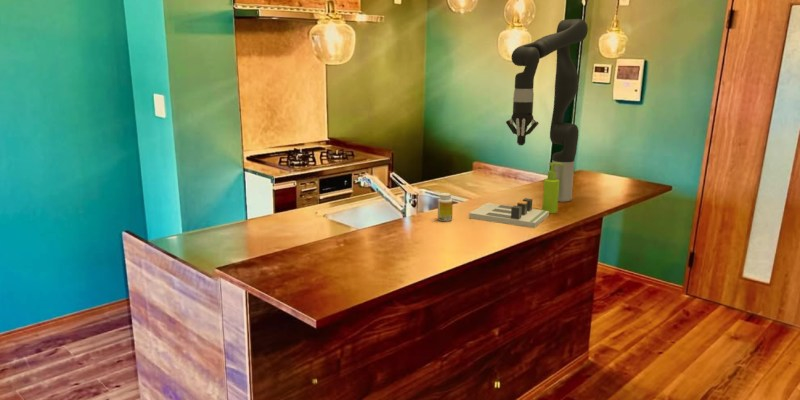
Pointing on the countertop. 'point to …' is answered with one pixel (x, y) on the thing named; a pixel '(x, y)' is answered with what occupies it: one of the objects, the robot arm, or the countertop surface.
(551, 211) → the soap dispenser
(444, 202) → the supplement bottle
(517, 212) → the block
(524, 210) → the breaker mid
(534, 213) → the breaker panel
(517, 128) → the robot arm
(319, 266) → the countertop surface
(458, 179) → the countertop surface
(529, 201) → the breaker
